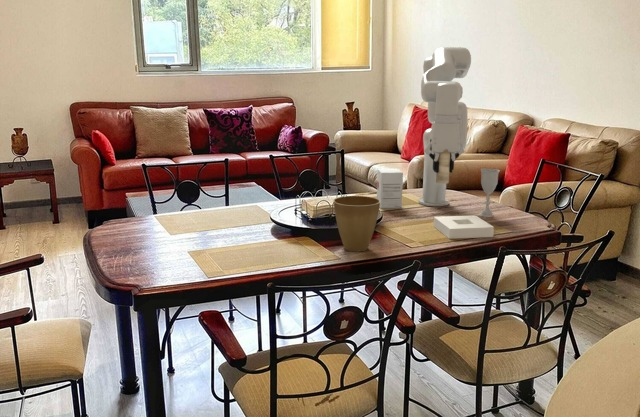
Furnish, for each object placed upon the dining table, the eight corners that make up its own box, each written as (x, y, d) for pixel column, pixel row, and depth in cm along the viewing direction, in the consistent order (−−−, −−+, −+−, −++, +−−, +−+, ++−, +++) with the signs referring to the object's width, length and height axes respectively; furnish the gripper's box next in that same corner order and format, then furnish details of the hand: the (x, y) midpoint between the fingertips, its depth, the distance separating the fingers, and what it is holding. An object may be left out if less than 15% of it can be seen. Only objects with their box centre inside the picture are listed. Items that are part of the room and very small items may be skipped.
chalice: (494, 213, 248) (498, 168, 244) (497, 217, 242) (501, 172, 237) (475, 212, 249) (479, 168, 244) (478, 217, 242) (481, 171, 238)
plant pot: (388, 248, 204) (389, 200, 200) (358, 258, 193) (360, 208, 189) (352, 238, 213) (353, 192, 209) (323, 248, 203) (323, 200, 199)
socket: (433, 226, 230) (433, 216, 229) (474, 224, 232) (475, 215, 231) (449, 238, 214) (449, 228, 213) (493, 236, 217) (493, 227, 216)
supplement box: (375, 203, 263) (377, 168, 259) (396, 203, 264) (398, 168, 260) (380, 208, 254) (381, 172, 250) (401, 208, 255) (403, 172, 251)
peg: (434, 181, 222) (436, 147, 219) (446, 180, 223) (448, 147, 220) (438, 183, 218) (440, 149, 215) (450, 183, 219) (452, 149, 216)
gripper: (465, 118, 220) (462, 169, 224) (419, 118, 218) (416, 170, 222) (473, 120, 213) (469, 173, 217) (425, 121, 210) (422, 174, 215)
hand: (443, 171), depth 220 cm, fingers closed on peg, 4 cm apart
